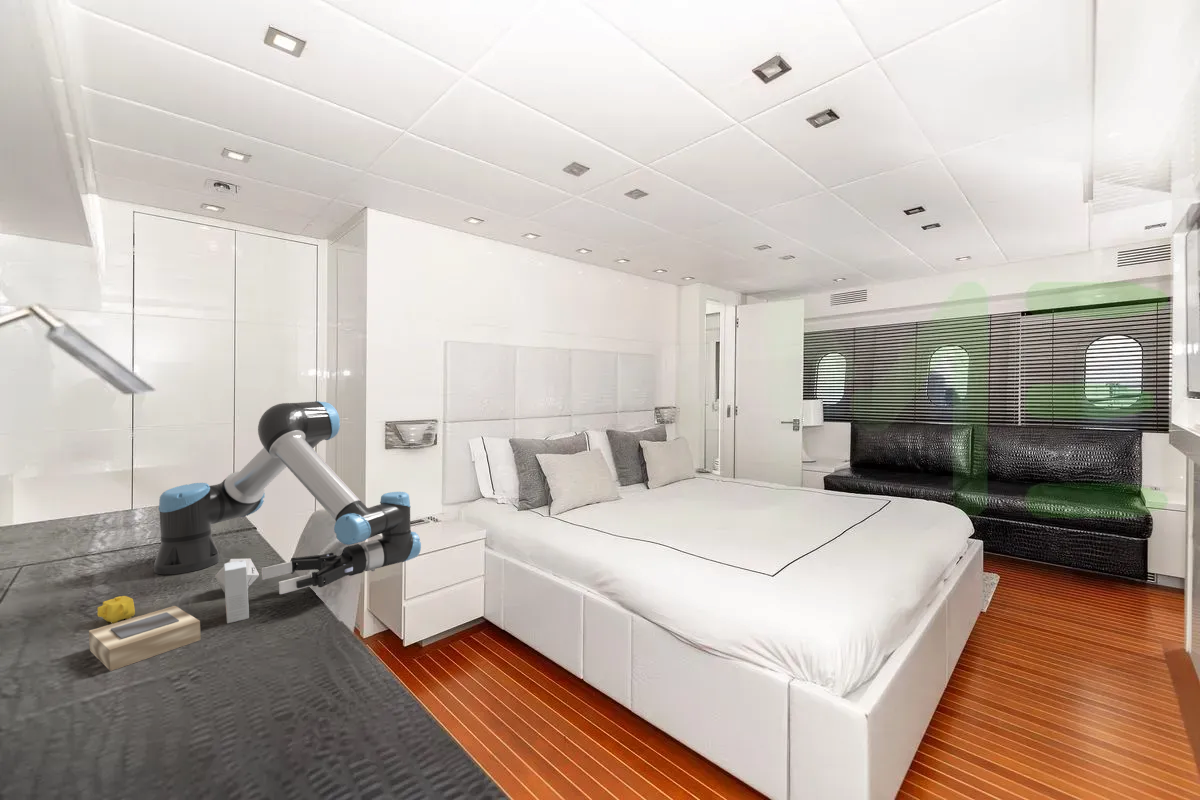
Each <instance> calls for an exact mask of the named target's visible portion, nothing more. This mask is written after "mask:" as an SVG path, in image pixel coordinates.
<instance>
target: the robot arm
mask: <svg viewBox="0 0 1200 800" xmlns="http://www.w3.org/2000/svg"><path fill="white" fill-rule="evenodd" d="M340 422H341V421H340V414H339V412H338V411H337V409H336V408H335V406H334V405H332V404H331V403H329V402H326V401H319V400H316V401H315V400H314V401H305V402H302V401H301V402H285V403H284V402H282V403H278V404H274V405H272V406H271V407H269V408H267V409H266V410H265V411H264V412H263V414H262V415H261V416H260V419H259V421H258V426H257V434H258V437H259V441H260V443H261V445H262V449H261V450H260V451H259V452H258V453H256V455H254V456H253V458H252V459H251V460H250V461H248V463H247V464H246V465H245V466H243V468H242V469H241V470H240V471H234V472H232V473H230V474H229V475H228V476H226V478H225V479H224V480H223V481H221V482H220V483H216V484H213V485H209V484H208V483H207V482H195V483H188V484H183V485H179V486H175V487H172V488H169V489H167V490H164V491H163V492H162V494H161V495H160V496H159V502H158V503H159V504H158V511H159V525H160V526H159V528H160V529H159V530H160V546H159V549H158V551H157V554H156V558H155V559H154V560H155V561H154V563H153V571H154V573H155V574H157V575H178V574H184V573H189V572H195V571H198V570H202V569H203V570H204V569H206V568H209V567H211V566H213V565H215V564H218V563H219V561H220V552H219V550H218V547H217V545H216V543H215V541H214V539H213V537H212V536H213V535H212V525H213V524H214V525H215V524H217V523H221V522H226V521H230V520H234V519H237V518H245V517H246V516H250V515H251V514H254V513H255V512H257V511H259V510H260V509H261V507H262V505H263V504H264V502H265V501H264V499H265V489H266V488H267V486H268V485H270V483H271V482H273V481H274V479H276V478H277V477H278V475H280V474H281V472H283V471H284V470H285V469H286V468H287V469H288V470H289V471H290V472H291V473H292V474H293V476H294V477H296V479H297V480H298V481H299V482H300V483H301V484H302V486H304V487H305V489H306V490H307V491H308V492H309V493H310V495H312V497H313V498H314V499H315V500H316V501H317V503H319V505H321V506H322V507H323V509H324V510H325V511H326V512H327V513H328V514H329V515H330V517H331V518H332V519H333V520H334V521H335V523H334V527H333V530H334V531H333V532H334V533H335V535H336V539H337V541H339V542H340V543H341V544H344V545H346V546H345V547H344V548H343V549H342V552H341V553H340V555H337V554H335V553H334V552H328V553H324V554H316V555H315V554H314V555H307V556H298V557H297V556H296V557H292V558H290V561H287V562H282V563H278V564H274V565H270V566H265V567H261V580H268V579H271V578H277V577H279V576H284V575H287V574H294V573H295V572H296V571H310V570H311V571H312V570H313V571H312V572H311V574H310V573H308V574H303V575H300V576H297V577H293V578H289V579H285V580H284V579H283V580H281V581H278V593H279V595H283V594H287V593H290V592H291V593H292V592H295V591H298V590H301V589H307V588H309V587H317V586H318V588H322V587H323V588H324V587H325V586H328V585H329V584H332V583H334V582H336V581H337V580H341V579H342V578H344V577H346V576H350V577H351V576H355V575H359V574H362V573H364V572H369V571H371V572H375V570H376V569H381V568H384V567H387V566H388V567H389V566H392V565H395V564H399V563H405V562H406V561H407V562H408V561H410V560H413V559H415V558H417V557H418V556H419V555H420V553H421V549H422V542H421V540H420V536H419V534H418V533H417V532H416V531H412V530H411V527H412V526H411V502H410V494H409V493H407V492H405V491H390V492H387V493H383V494H381V496H380V500H379V501H380V502H379V503H380V504H377V505H373V506H370V507H367V506H366V504H365V503H364V502H363V501H362V500H360V498H359V497H358V496H357V495H356V494H355V493H354V492H353V490H351V488H350V487H349V486H348V485H347V484H346V483H345V482H344V481H343V480H342V479H341V477H339V476H338V474H337V473H336V472H335V470H333V469H332V468H331V466H330V465H329V464H328V463H327V462H325V460H324V459H323V458H322V457H321V456H320V454H319V453H318V452H317V451H316V450H315V449H314V448H315V447H317V445H318V444H320V442H322V441H329V440H330V439H331V440H332V439H334V438H336V436H337V435H338V433H339V431H340V427H341V425H340ZM378 535H381V538H379V539H374V540H369V539H370V538H373V537H375V536H376V537H377V536H378ZM366 540H369V541H366ZM358 543H360V544H358ZM315 570H318V571H315Z"/></svg>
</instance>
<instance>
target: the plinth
mask: <svg viewBox="0 0 1200 800" xmlns="http://www.w3.org/2000/svg"><path fill="white" fill-rule="evenodd" d="M201 636H202V635H201V621H200V619H198V618H196V617H194V616H193V615H192V614H190V613H188V612H186V611H184V610H183V609H181V608H180V607H178V606H176V605H172V606H169V607H165V608H162V609H159V610H155V611H151V612H148V613H145V614H142V615H138V616H135V617H134V616H133V617H131V618H130V619H125V620H124V619H123V620H120V621H118V622H117V623H114V624H111V623H110V624H107V625H104V626H100V627H97V628H93V629H90V630H88V643H89V651H90V652H91V654H92V655H94V656H95V658H97V659H98V660H99V661H100V662H101V664H103V665H104V666H105V668H107V669H108V671H110V672H112V671H115V670H118V669H121V668H123V667H127V666H129V665H132V664H135V663H138V662H142V661H144V660H146V659H149V658H152V657H156V656H159V655H162V654H164V653H167V652H170V651H173V650H176V649H178V648H182V647H184V646H187V645H190V644H193V643H196V642H198V641H201V640H202V638H201Z"/></svg>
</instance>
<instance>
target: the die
mask: <svg viewBox="0 0 1200 800" xmlns="http://www.w3.org/2000/svg"><path fill="white" fill-rule="evenodd" d="M242 560H245V561H246V567H247V584H248V588H249V587H251V585H252V584H253V583H254V582H255V581H256V579H258V578H259V576H260V574H259V572H258V570H257V568H256V566H255V564H254V563H253V561H252V559H251V558H230V559H229V560H228V561H227V562H226V563H230V562H236V561H242ZM214 577H215V579H216V581H217V583H218V584H219V586H220V588H221V589H222V591H223V593H224V594H225V582H224V565H223V567H221V568H220V570H218V571H217V573H215V574H214Z"/></svg>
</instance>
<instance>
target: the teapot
mask: <svg viewBox="0 0 1200 800" xmlns="http://www.w3.org/2000/svg"><path fill="white" fill-rule="evenodd" d="M96 613H97V617H98V618H102V620H105V621H106V622H107V623H110V624H114V623H117V622H120V621H123V620H124V619H125V620H127V619H131V618H132V617H134V616H135V614H136V608H135V603H134V599H133V598H132V597H129V596H127V595H122V596H119V595H118V596H116V597H114V598H111V599H108V600H104V601H102V605H100V606H97V612H96Z"/></svg>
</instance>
